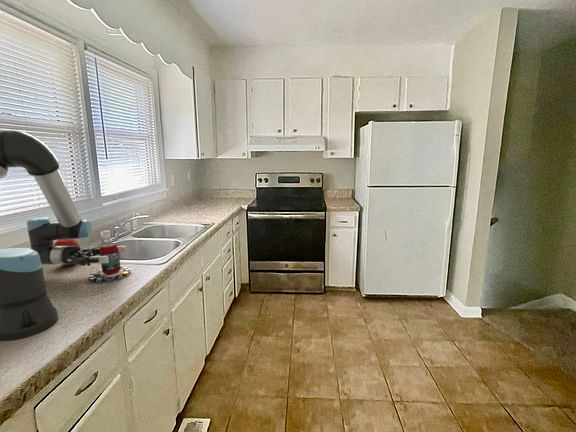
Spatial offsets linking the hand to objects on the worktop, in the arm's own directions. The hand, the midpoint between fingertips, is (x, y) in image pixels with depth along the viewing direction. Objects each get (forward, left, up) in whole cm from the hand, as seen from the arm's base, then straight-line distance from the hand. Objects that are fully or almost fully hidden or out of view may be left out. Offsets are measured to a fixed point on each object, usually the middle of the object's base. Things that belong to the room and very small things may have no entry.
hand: (117, 254), depth 131 cm
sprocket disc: (0, +4, -9) cm, 10 cm away
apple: (+14, +32, -10) cm, 37 cm away
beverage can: (0, +3, -8) cm, 9 cm away
